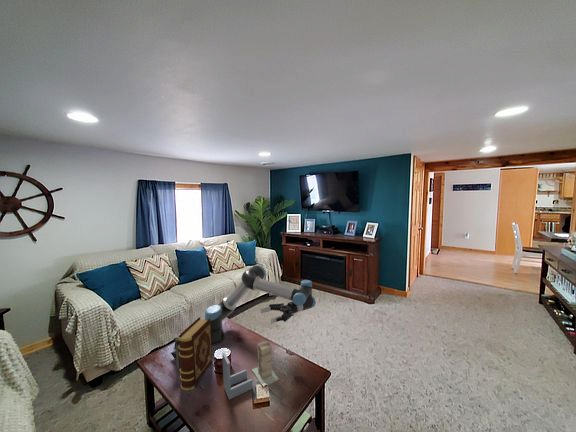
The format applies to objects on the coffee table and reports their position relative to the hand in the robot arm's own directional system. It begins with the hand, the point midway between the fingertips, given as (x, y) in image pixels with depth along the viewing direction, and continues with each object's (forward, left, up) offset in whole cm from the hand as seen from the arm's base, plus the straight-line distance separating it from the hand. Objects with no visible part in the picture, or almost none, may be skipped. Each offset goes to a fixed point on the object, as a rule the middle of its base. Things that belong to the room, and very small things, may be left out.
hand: (265, 316), depth 143 cm
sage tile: (+7, -5, -32) cm, 33 cm away
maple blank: (+7, -5, -31) cm, 32 cm away
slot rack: (+7, -21, -32) cm, 39 cm away
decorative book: (-15, -39, -32) cm, 53 cm away
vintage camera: (-33, -45, -32) cm, 64 cm away
